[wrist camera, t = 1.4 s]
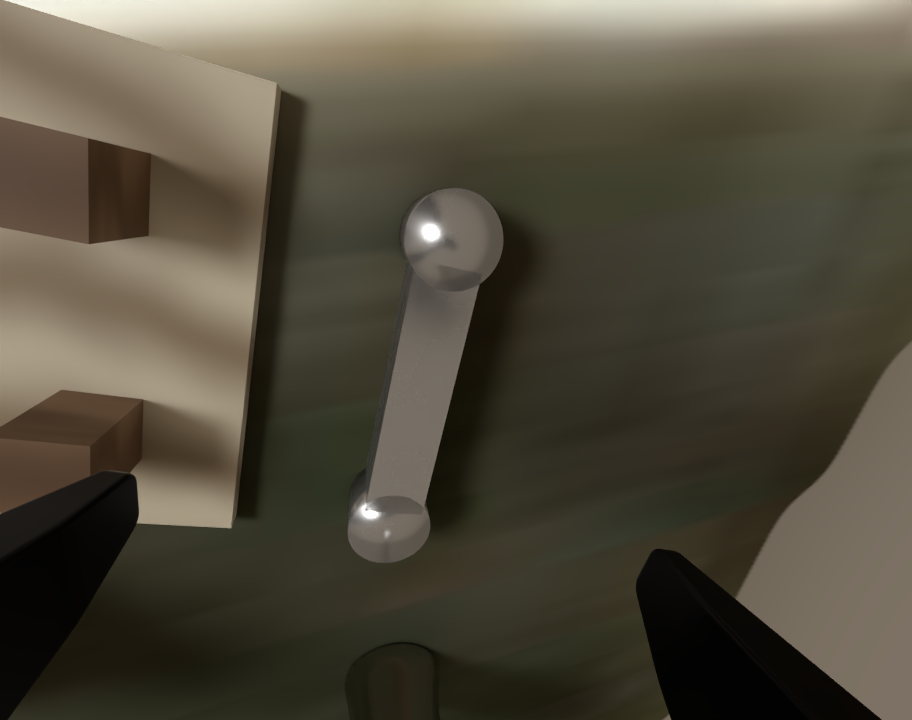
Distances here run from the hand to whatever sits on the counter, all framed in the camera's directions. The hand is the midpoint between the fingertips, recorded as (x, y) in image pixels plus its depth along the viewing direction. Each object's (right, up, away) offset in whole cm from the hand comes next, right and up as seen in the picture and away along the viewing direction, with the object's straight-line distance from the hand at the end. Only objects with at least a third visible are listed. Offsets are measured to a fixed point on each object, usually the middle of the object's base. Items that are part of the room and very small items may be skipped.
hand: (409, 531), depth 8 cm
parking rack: (-14, +5, +11) cm, 18 cm away
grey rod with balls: (-1, +2, +15) cm, 15 cm away
